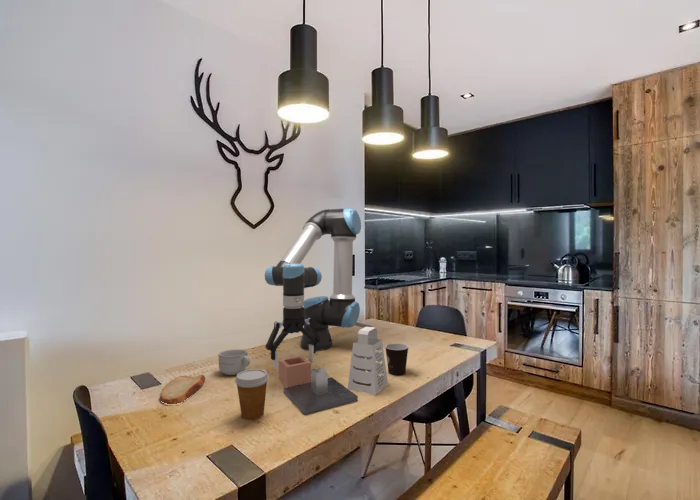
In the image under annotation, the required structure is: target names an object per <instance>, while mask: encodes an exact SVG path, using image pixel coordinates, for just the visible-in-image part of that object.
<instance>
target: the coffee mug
mask: <svg viewBox="0 0 700 500" xmlns="http://www.w3.org/2000/svg"><path fill="white" fill-rule="evenodd" d="M384 347H385V354H386V363H387V365H386V366H387V372H388V374H389V375H391V376H394V377H395V376H396V377H401V376H404V375H406V370H407V363H408V362H407V361H408V354H409V353H408V352H409V345H407V344H405V343H398V342H397V343H395V342H394V343H388V344H386V345H385V346H384Z"/></svg>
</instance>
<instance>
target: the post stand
mask: <svg viewBox="0 0 700 500" xmlns="http://www.w3.org/2000/svg"><path fill="white" fill-rule="evenodd" d="M328 376H329V371H328V370H327V369H325V368H324V367H319V368H314V369H311V382H309V383H304V384H299V385H295V386H290V387H287V386H285V387H283V394H285V396H286V397H288V399H289V400H290V401H291V402H292V403H293V404H294V405H295V406H296V408H297V409H299V411H300V412H301V413H302V414H303V415H305V416H306V415H310V414H313V413H317V412H321V411H324V410H328V409H329V410H330V409H332V408H335V407H339V406H340V407H341V406H343V405H347V404H350V403H355V402H358V401H359V399H358V395H357V394H355V393H354V392H353V391H351V389H348V387H346V386H344V385H343V384H342V383H340V382H339V381H338V380H337V379H335V378H334V377H328Z"/></svg>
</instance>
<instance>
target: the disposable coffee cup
mask: <svg viewBox="0 0 700 500" xmlns="http://www.w3.org/2000/svg"><path fill="white" fill-rule="evenodd" d="M269 379H270V377H269V375H268V372H267V370H264V369H261V368H250V369H245V370H243V371H242V372H240V373H238V374H236V378H235V380H234V382H235V385H236V387H237V388H236V389H237V393H238V394H237V395H238V401H239V406H240V407H239V408H240V414H241V419H244V420H246V421H250V420H257V419H260V418H261V417H264V413H265V406H266V405H265V404H266V397H267V396H266V395H267V386H268V381H269Z"/></svg>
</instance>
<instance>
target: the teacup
mask: <svg viewBox="0 0 700 500" xmlns="http://www.w3.org/2000/svg"><path fill="white" fill-rule="evenodd" d="M248 354H249V351H247V350H246V349H242V348H241V349H239V348H238V349H237V348H234V349H226V350H223V351H220V352H219V353H218V354H217V355H218V369H219V371H220V372H221V373H223V374H224V375H226V376H235V374H236V375H237V374H238V373H240V372H242V371H245V370H247V368H248V367H249V366H250V363H251V359H250V357H249V356H248Z"/></svg>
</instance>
